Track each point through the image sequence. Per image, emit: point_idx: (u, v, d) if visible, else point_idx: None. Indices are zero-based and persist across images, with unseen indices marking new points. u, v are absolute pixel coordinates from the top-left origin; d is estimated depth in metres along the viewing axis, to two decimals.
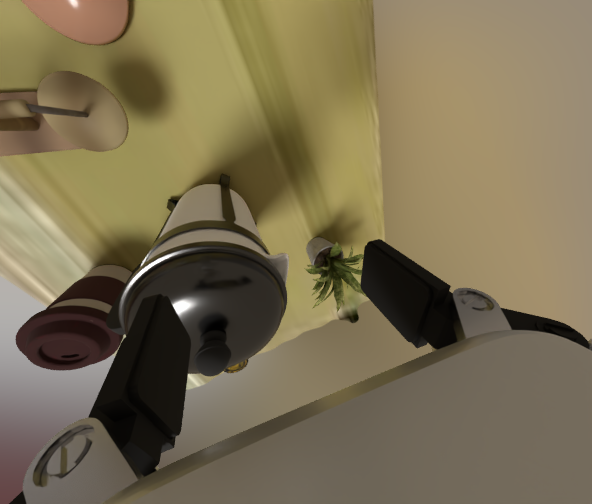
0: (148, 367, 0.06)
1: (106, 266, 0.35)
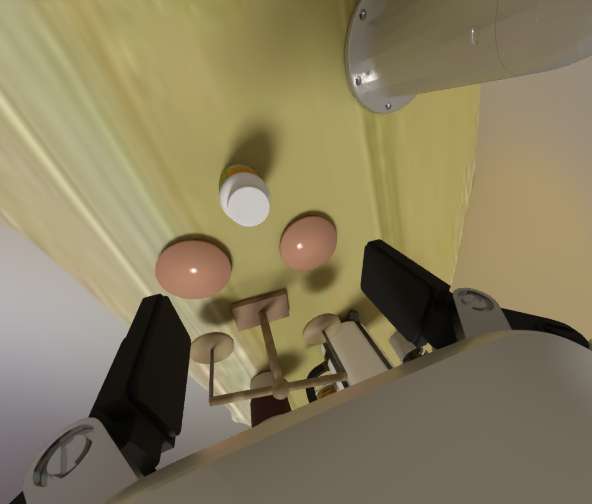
0: (147, 367, 0.06)
1: (267, 374, 0.49)
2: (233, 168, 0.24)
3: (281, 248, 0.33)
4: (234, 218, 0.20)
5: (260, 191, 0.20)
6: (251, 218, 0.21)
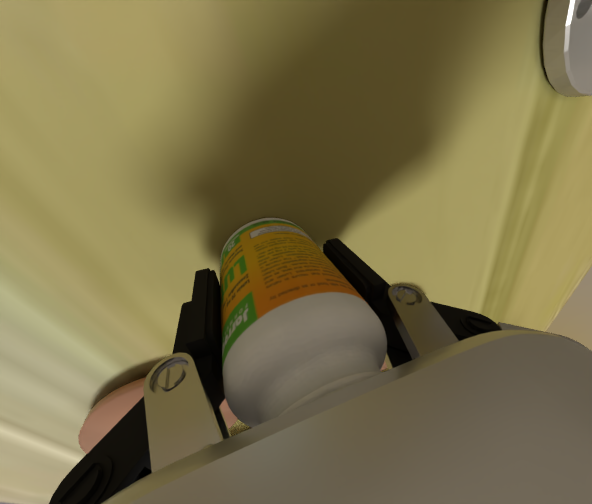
0: (214, 321, 0.07)
1: None
2: (261, 245, 0.08)
3: None
4: None
5: None
6: None
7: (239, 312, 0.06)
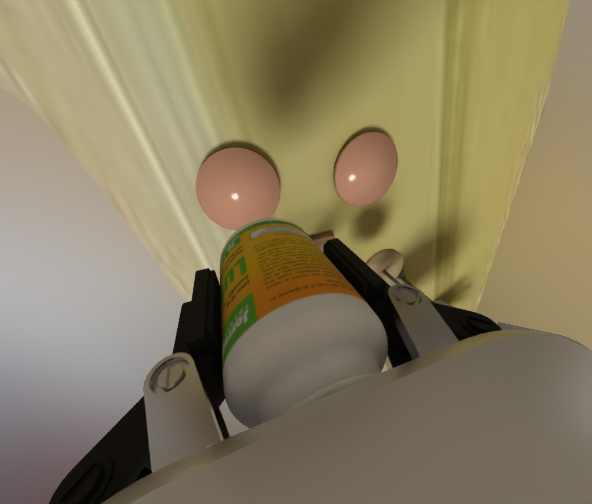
0: (214, 320, 0.07)
1: None
2: (262, 246, 0.08)
3: (337, 171, 0.28)
4: None
5: None
6: None
7: (239, 313, 0.06)
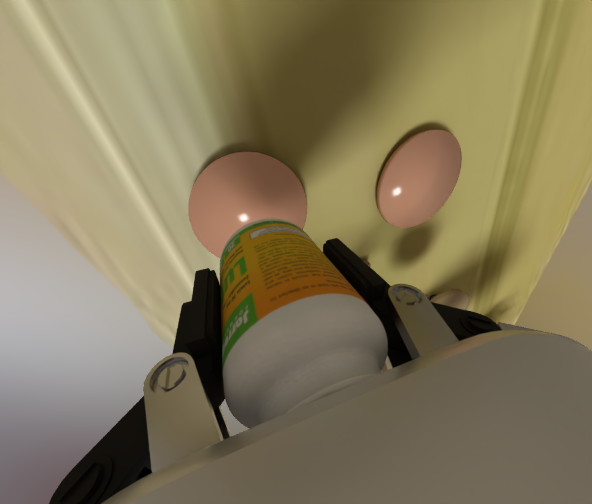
0: (214, 320, 0.07)
1: None
2: (262, 246, 0.08)
3: (383, 184, 0.21)
4: None
5: None
6: None
7: (239, 313, 0.06)
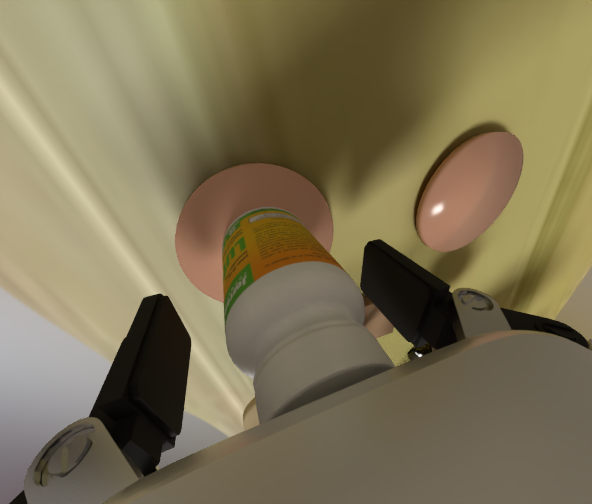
0: (148, 367, 0.06)
1: None
2: (259, 228, 0.09)
3: (428, 201, 0.16)
4: None
5: (384, 366, 0.05)
6: None
7: (239, 279, 0.07)
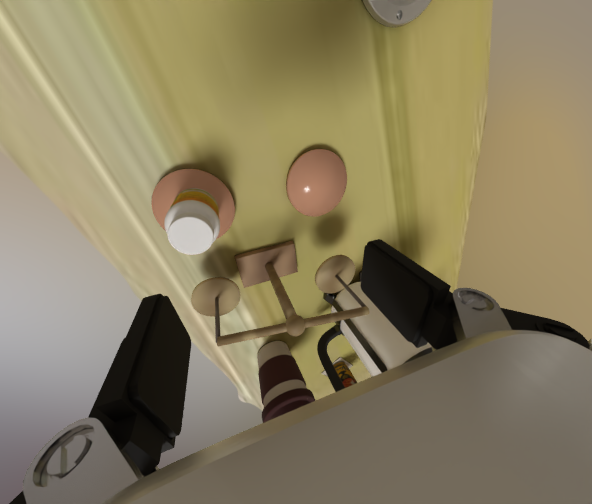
0: (148, 367, 0.06)
1: (275, 343, 0.46)
2: (183, 194, 0.24)
3: (288, 185, 0.31)
4: (176, 248, 0.20)
5: (200, 220, 0.20)
6: (194, 246, 0.20)
7: None
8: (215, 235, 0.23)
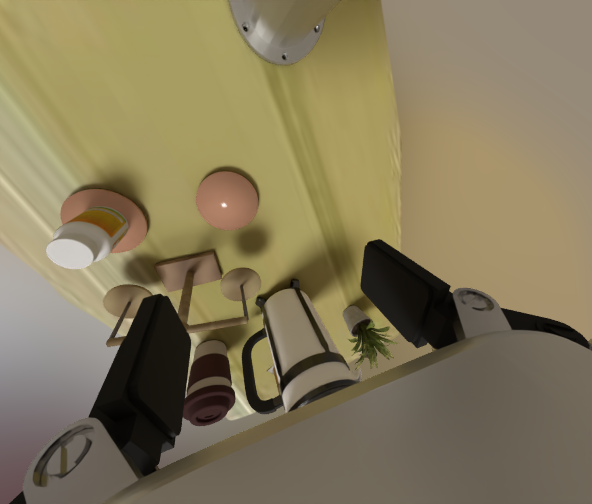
0: (148, 367, 0.06)
1: (210, 342, 0.50)
2: (81, 213, 0.27)
3: (197, 203, 0.34)
4: (58, 263, 0.23)
5: (76, 241, 0.23)
6: (76, 262, 0.24)
7: None
8: (105, 251, 0.26)
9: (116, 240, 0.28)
